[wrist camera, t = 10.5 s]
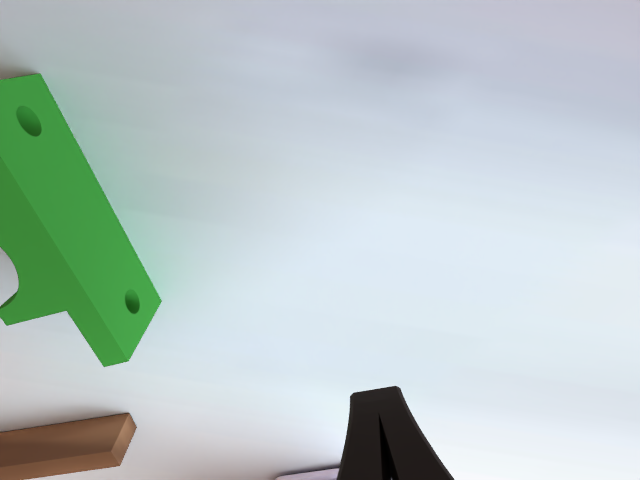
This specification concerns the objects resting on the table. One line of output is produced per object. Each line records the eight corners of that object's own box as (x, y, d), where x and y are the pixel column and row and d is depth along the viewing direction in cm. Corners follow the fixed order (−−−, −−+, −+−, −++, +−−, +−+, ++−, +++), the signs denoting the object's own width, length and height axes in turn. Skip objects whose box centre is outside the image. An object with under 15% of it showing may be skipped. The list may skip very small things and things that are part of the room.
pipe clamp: (-40, 98, 17) (-151, 118, 13) (43, 72, 17) (-44, 84, 13) (96, 317, 22) (45, 382, 18) (163, 300, 22) (127, 363, 17)
